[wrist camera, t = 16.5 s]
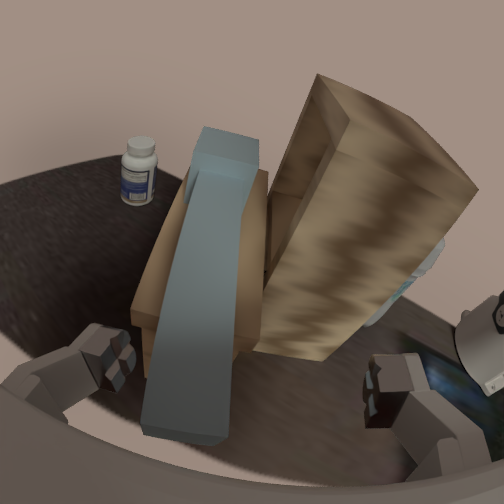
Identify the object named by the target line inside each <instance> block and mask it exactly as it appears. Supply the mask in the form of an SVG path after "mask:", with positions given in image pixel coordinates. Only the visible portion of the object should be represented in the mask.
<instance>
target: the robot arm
mask: <svg viewBox="0 0 504 504" xmlns="http://www.w3.org/2000/svg"><path fill="white" fill-rule="evenodd" d="M130 340H131V338H130V335H129V333H128V332H127V331H125V330H122V329H118V328H114V327H110V326H106V325H100V324H97V323H92V324H90V325H89V326H88V327H87V328H86V329H85V330H84V331H83V332H82V333H81V334H80V335H79V336H78V337H77V338H76V339H75V340H74V341H73V342H72V344H71V345H70V346H69V347H63V348H60V349H58V350H55V351H53V352H50V353H48V354H46V355H43V356H41V357H38V358H36V359H33V360H31V361H28V362H26V363H23V364H21V365H19V366H17V368H16V369H15V370H14V371H13V372H12V373H11V374H10V375H9V376H8V377H7V378H6V379H5V380H4V381H3V383H1V384H0V504H504V459H502V460H499V461H496V462H493V463H492V462H491V458H490V455H489V451H488V448H487V444H486V441H485V437H484V434H483V431H482V430H481V429H480V428H479V427H478V426H477V425H476V424H474V423H473V422H472V421H471V420H470V419H468V418H467V417H466V416H465V415H464V414H463V413H461V412H460V411H459V410H458V409H457V408H455V407H454V406H453V405H452V404H451V403H449V402H448V401H447V400H446V399H445V398H443V397H442V396H441V395H440V394H439V393H437V392H436V391H435V390H430V388H429V385H428V382H427V379H426V375H425V372H424V369H423V366H422V363H421V360H420V358H419V355H418V354H417V353H406V354H372V355H371V357H370V360H369V363H368V364H369V371H368V372H367V373H366V374H365V378H364V382H363V402H364V403H365V404H366V408H365V411H364V419H365V429H381V428H391V431H392V432H393V433H394V434H395V436H396V437H397V438H398V440H399V441H400V442H401V444H402V445H403V446H404V447H405V449H406V450H407V451H408V453H409V454H410V455H411V457H412V458H413V459H414V460H415V462H416V463H417V464H418V467H417V468H416V469H415V470H414V472H413V473H412V474H411V475H410V476H409V477H408V478H407V479H406V482H404V483H395V484H386V485H374V486H357V487H309V486H291V485H279V484H268V483H261V482H252V481H246V480H240V479H234V478H228V477H223V476H217V475H212V474H208V473H203V472H199V471H195V470H190V469H187V468H183V467H178V466H175V465H172V464H168V463H165V462H161V461H158V460H155V459H152V458H149V457H145V456H143V455H140V454H137V453H133V452H131V451H128V450H126V449H123V448H120V447H118V446H115V445H113V444H110V443H108V442H105V441H103V440H101V439H98V438H96V437H94V436H91V435H89V434H87V433H85V432H82V431H80V430H78V429H76V428H74V427H72V426H70V425H68V420H67V418H66V417H65V415H64V414H63V413H62V412H63V411H65V410H66V409H68V408H69V407H71V406H73V405H74V404H76V403H77V402H79V401H81V400H82V399H84V398H85V397H87V396H89V395H90V394H92V393H93V392H95V391H97V390H98V389H99V388H101V389H104V390H107V391H111V392H114V393H118V391H119V390H120V388H121V387H122V385H123V384H124V382H125V376H126V375H128V374H130V373H131V372H132V370H133V369H134V367H135V363H136V353H135V350H134V348H133V347H132V346H131V345H130V344H129V342H130ZM455 342H456V347H457V351H458V354H459V357H460V359H461V362H462V364H463V366H464V367H465V369H466V371H467V372H468V374H469V375H470V376H471V377H472V378H473V379H474V380H475V381H476V382H477V383H478V384H479V385H480V387H481V388H482V390H483V392H484V393H485V394H486V395H487V396H490V395H491V394H493V393H495V392H496V391H498V390H500V389H501V388H503V387H504V291H503V292H502V293H501V294H500V295H499V297H498V296H494V295H492V296H490V297H489V298H488V299H486V300H485V301H484V302H483V303H481V304H480V305H479V306H477V307H476V308H475V309H474V310H472V311H471V312H470V311H468V310H465V311H464V312H462V315H461V321H460V323H459V324H458V325H457V327H456V331H455Z"/></svg>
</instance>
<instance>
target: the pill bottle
mask: <svg viewBox="0 0 504 504" xmlns="http://www.w3.org/2000/svg"><path fill="white" fill-rule="evenodd" d="M154 150H155V140H154V139H152V138H150V137H147V136H136V137H132V138H130V139H129V140H128V146H127V152H125V153H124V155H123V157H122V164H121V198H122V200H123V201H124V202H125V203H127V204H129V205H133V206H141V205H145V204H147V203H149V202H150V201H151V200H152V199H153V196H154V189H155V180H156V171H157V164H158V158H157V155H156V154H155V153H154Z"/></svg>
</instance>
